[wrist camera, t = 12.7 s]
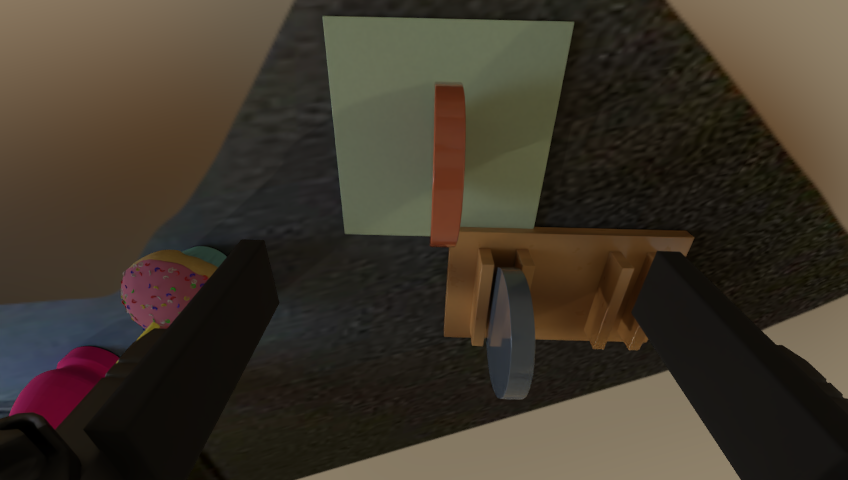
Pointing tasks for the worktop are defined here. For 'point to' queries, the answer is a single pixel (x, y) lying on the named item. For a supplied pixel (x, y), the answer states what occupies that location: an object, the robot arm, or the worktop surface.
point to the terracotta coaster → (447, 163)
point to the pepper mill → (64, 384)
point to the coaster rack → (558, 279)
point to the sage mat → (413, 113)
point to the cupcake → (166, 284)
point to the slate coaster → (510, 334)
